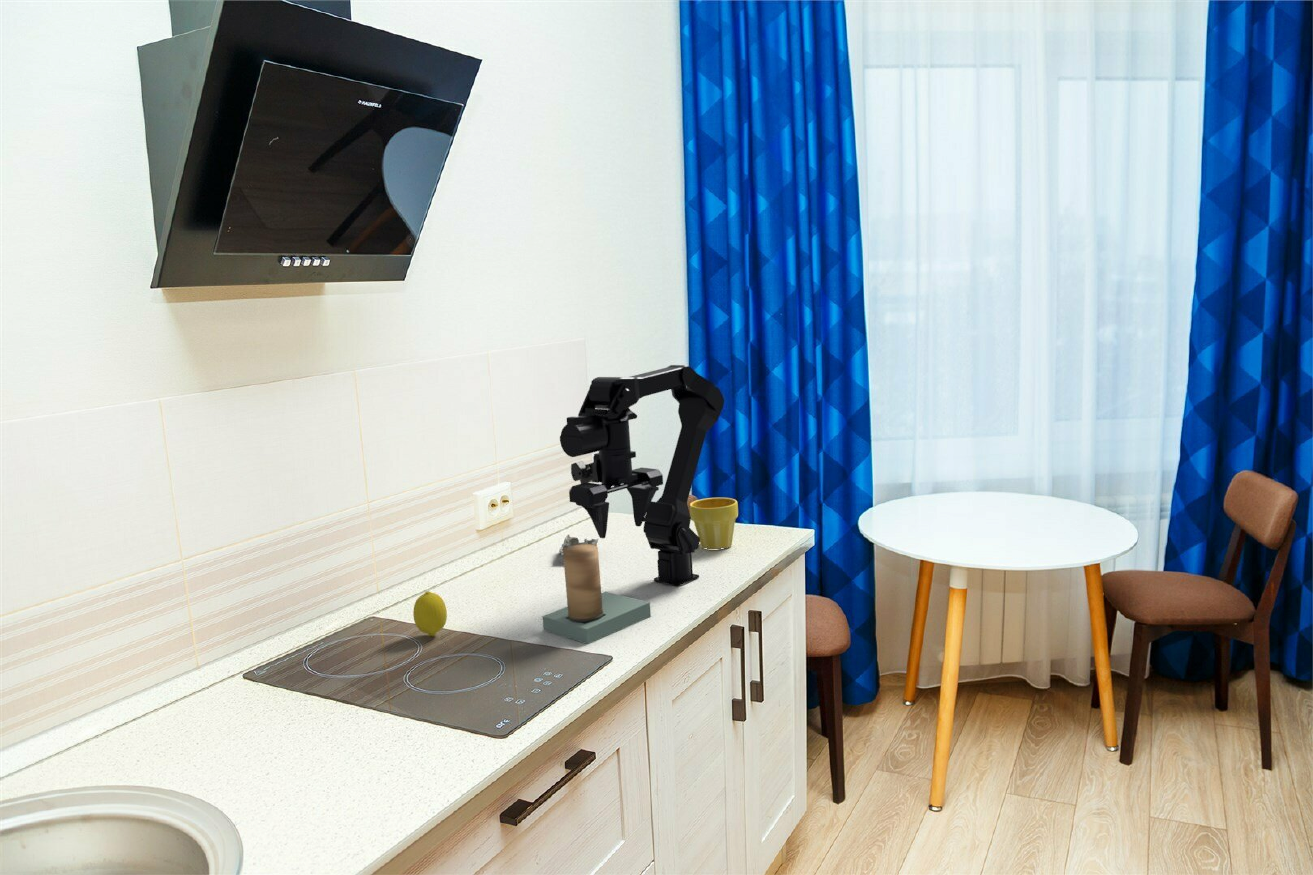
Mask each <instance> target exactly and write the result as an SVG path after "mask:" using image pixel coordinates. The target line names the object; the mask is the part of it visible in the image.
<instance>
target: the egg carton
mask: <svg viewBox="0 0 1313 875" xmlns="http://www.w3.org/2000/svg"><path fill="white" fill-rule="evenodd" d="M598 541H599V538H596V539H594V538H591V539H590V540H589V539H587V538H584V540H583V542H582V541H581V542H580V539H578V537H577V536H576V537H574V536H573V537H572V536H570V534H567V535H566V537H564V541H563V543H562V545H561V547H560V548H559V550H558V556H559V557H560V563H561V564H564V558H563V550H564V549H565V548H567V547H570V546H574V545H582V544H589V545H595V546H597V547H598Z"/></svg>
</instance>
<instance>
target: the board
mask: <svg viewBox="0 0 1313 875" xmlns="http://www.w3.org/2000/svg"><path fill="white" fill-rule="evenodd" d="M601 595H602V608H603V617H602V618H601V619H599V620H596V621H593V622H589V623H586V624H583V623H577V622H572V621H570V620H569V619H568V606H566V607H563V608H560V609H558V610H555V611H553V612H550V613H547V614H545V615H542V617H541V618H542V625H543V631H544V632H547V633H551V634H555V635H558V636H560V637H564V638H568V639H571V640H574V641H577V642H581V643H584V644H587V645H588V644H591V643H593V642H595V641H598V640H600V639H602V638H604V637H606V636H609V635H612V634H614V633H616V632H618V631H621V630H623V629H625V628H627V627H630V626H633V625H634V624H636V623H638V622H640V621H643V620H645V619H647V618H650V617H652V614H651V612H652V611H651V602H649V601H646V600H641V599H638V598H633V597H629V596H625V595H622V594H617V593H613V592H610V591H603V592H601Z"/></svg>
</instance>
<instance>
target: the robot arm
mask: <svg viewBox="0 0 1313 875" xmlns="http://www.w3.org/2000/svg"><path fill="white" fill-rule="evenodd" d="M668 390H671V391H670V392H671V395H672V398H673V399H675V401H676V402H677V403H678V410H677V414H678V416H679V420H680V424H681V426H680V427H681V428H680V432H679V434H678V438H677V441H676V445H675V449H674V453H673V456H672V460H671V463H670V467H669V471H668V474H667V477H666V480H665V484H664V476H663V475H664V474H663V473H662V472H661V470H660V469H659V468H648V467H638V468H634V469H633V466H632V463H633V462H632V459H634V458H637V454H636V451H633V450H631V448H632V447H631V436H630V423H629V422H630V421H632V420H635V419H636V420H637V418H638V415H637V414H636V412H634V411H632V410H631V407H632V406H634V405H636V404H637V403H638V402H639V400H641V399H642V398H644V397H647V396H651V395H655V394H658V393H662V392H666V391H668ZM724 404H725V397H724V395H723V394H722V391H721V389H720V388H719V387H717V386H716V385H714V383H713V382H712V381H711V380H709V379H707V378H706V377H704V376H702V375H700V374H699V373H697V371H696V370H695V369H694V368H693V367H691V366H690V365H688V364H686V365H685V364H682V365H681V364H670V365H668V366H667V367H664V368H660V369H656V370H651V371H647V372H643V373H638V374H634V375H632V376H597V377H595V378H593V379H592V380H591V383H590V385H589V389H588V391H587V393H586V396H585V398H584V400H583V402H582V405H581V407H580V409H579V412H578V415H577V416H568V417H566V424H565V426H563V427H562V429H561V432H560V435H559V441H560V446H561V449H562V451H563V452H564V453H565V455H567V456H568V457H571V458H574V457H575V458H576V457H580V456H584V455H588V454H593V458H592V460H593V462H590V463H585V462H584V461H583V460H581V461H577V462H574V463H571V465H570V474H571V477H572V480H573V481H574V482H578V481H579V482H580V483H578V484H574V485H572V486H571V488H570V489H569V490H568V491H569V492H568V495H569V496H568V497H569V502H570V503H575V504H576V506H579V507H582V508H583V510H585V511H586V512H587V514H588V516H589V517H590V519H591V521H592V524H593V526H594V528H595V530H596V533H597V535H598V537H599V538H600V539H606V537H607V531H608V520H609V509H610V502H608V501H607V498H608V497H609V495H608V494H611V493H615V492H617V491H622V490H624V489H626V490H627V492H628V493H629V495H630V496H631V502H632V511H633V512H632V513H633V520H634V524H635V526H636V527H641V526H642V525H643V533H644V535H645V538H646V539H647V543H648V545H649V548H650V549H651V550H653V549H654V550H657V558H658V559H657V561H656V562H657V573H658V575H657V576H656V577H653V582H657V583H662V584H665V585H670V586H674V587H680V586H683V585H685V584H687V583H689V582H692V581H694V580H696V579H699V578H700V575H699V574H696V573H694V572H693V571H694V570H693V557H692V554H694V553H695V551H697V550H699V548H700V538H699V537H698V534H696V532H694V530H692V528H690V527H691V521H692V520H691V516H690V508H689V506H688V505H689V504H688V501H689V497H690V494H691V489H692V486H693V482H694V478H695V475H696V471H697V468H698V464H699V461H700V457H701V454H702V449H703V446H704V442H705V438H706V435H707V433H708V432H709V431H710V430H711V429H712V427H713V426H714V425H716V423H717V422H718V421H719V419H720V416H721V413H722V411H723V408H724ZM662 485H664V488H663V492H662V495H661V497H660V498H658V499H657V500H656V501H652V500H653V499H654V496H655V494H656V492H657V491H659V490H660V487H659V486H662Z"/></svg>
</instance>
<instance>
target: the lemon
mask: <svg viewBox="0 0 1313 875" xmlns="http://www.w3.org/2000/svg"><path fill="white" fill-rule="evenodd" d="M412 612H413V614H412V615H413V620H414V624H415V626H416V627H417V629H418V630H419V631H420V632H422V633H423V634H427V635H429V636H430V637H434V636H436V634H437V633H438V632H440V631H441V630H442V629H443V628H444V626H445V625H446V623H447V620H448V619H447V618H448V614H447V606H446V603H445V601H444V599H443V598H442V597H441V596H440V595H439V594H437V593H435V592H431V591H429V590H428V591H425V592H424V593H423V594H421V595H420V596H419V597H418V598H417V599H416V600H415V603H414V605H413V611H412Z"/></svg>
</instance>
